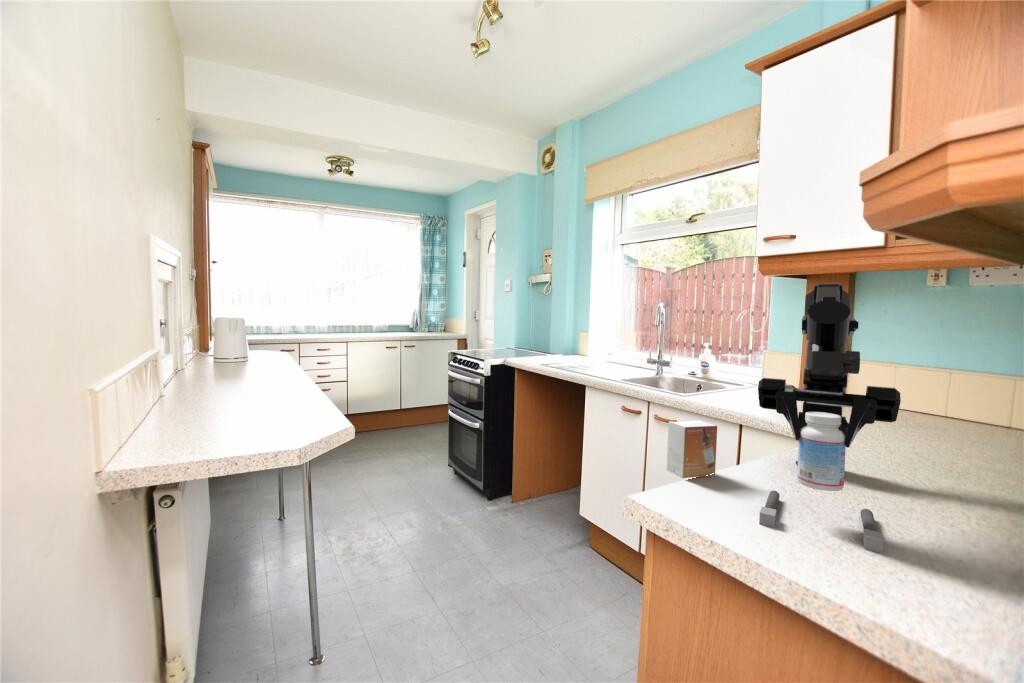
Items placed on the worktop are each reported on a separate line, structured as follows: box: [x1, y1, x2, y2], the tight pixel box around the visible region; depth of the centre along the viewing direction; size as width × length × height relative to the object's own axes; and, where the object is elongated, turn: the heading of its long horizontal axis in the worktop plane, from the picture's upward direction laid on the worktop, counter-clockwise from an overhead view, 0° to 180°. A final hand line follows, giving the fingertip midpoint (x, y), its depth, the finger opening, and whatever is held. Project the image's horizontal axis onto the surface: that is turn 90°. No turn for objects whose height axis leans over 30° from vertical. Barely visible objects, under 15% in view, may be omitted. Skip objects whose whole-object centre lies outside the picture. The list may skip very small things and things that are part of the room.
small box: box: [666, 419, 718, 479], centre depth 94 cm, size 8×6×10 cm
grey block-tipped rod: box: [758, 490, 780, 528], centre depth 75 cm, size 13×2×2 cm, turn 145°
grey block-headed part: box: [860, 508, 885, 554], centre depth 68 cm, size 13×2×2 cm, turn 145°
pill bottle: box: [796, 412, 847, 492], centre depth 71 cm, size 6×6×11 cm
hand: (821, 442), depth 70 cm, fingers closed on pill bottle, 6 cm apart
